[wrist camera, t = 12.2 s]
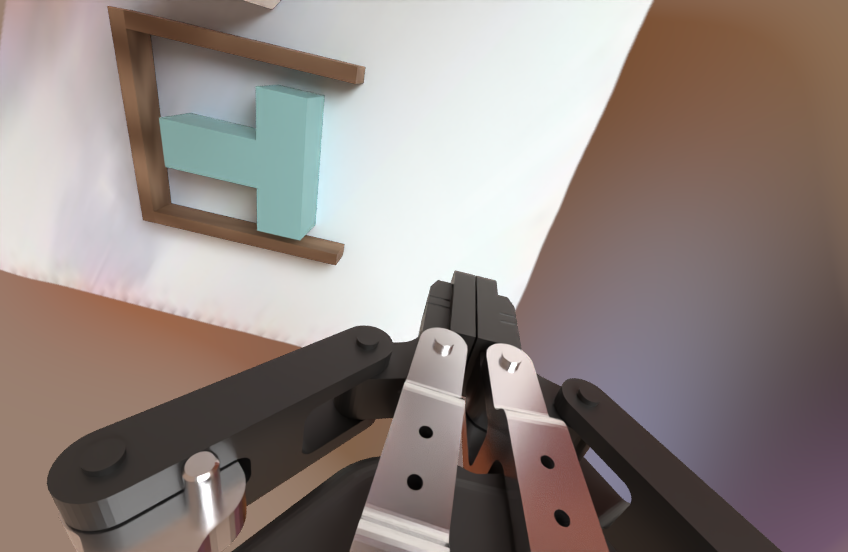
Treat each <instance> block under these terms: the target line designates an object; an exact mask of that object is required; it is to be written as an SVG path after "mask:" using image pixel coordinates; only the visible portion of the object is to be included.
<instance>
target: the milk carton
mask: <svg viewBox="0 0 848 552" xmlns="http://www.w3.org/2000/svg"><path fill="white" fill-rule="evenodd" d="M244 1H247V2H250V3H253V4H256V5H260V6H263V7H266V8H269V9H273V8H274V7H275V6H276V5H277V4H278V3H279V2H280V1H281V0H244Z"/></svg>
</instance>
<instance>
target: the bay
mask: <svg viewBox="0 0 848 552" xmlns="http://www.w3.org/2000/svg"><path fill="white" fill-rule="evenodd" d="M107 7H108V13H109V19H110V25H111V31H112V37H113V43H114V49H115V55H116V61H117V67H118V73H119V79H120V85H121V91H122V97H123V103H124V109H125V115H126V121H127V127H128V133H129V139H130V145H131V151H132V157H133V163H134V169H135V175H136V181H137V187H138V193H139V199H140V205H141V211H142V217H143V220H145V221H149V222H154V223H158V224H162V225H166V226H171V227H175V228H179V229H183V230H188V231H192V232H196V233H200V234H205V235H209V236H213V237H217V238H222V239H226V240H230V241H234V242H239V243H243V244H247V245H251V246H256V247H260V248H264V249H269V250H273V251H277V252H281V253H286V254H290V255H294V256H298V257H303V258H307V259H311V260H315V261H320V262H324V263H328V264H332V265H336V264H337V263H338V261H339V260H340V258H341V257H342V255H343V252H344V244H341V243H337V242H333V241H329V240H324V239H320V238H316V237H312V236H308V235H305V236H304V237H303V238H302V239H301V240H296V239H292V238H287V237H283V236H279V235H274V234H270V233H266V232H261V231H257V223H252V222H248V221H244V220H240V219H235V218H231V217H227V216H223V215H218V214H214V213H210V212H206V211H202V210H197V209H193V208H189V207H185V206H180V205H176V204H172V203H171V197H170V189H169V181H168V173H167V167H165V161H164V154H163V146H162V138H161V130H160V123H159V118H160V117H161V116H160V108H159V100H158V92H157V84H156V76H155V68H154V60H153V52H152V44H151V36H150V34H151V35H155V36H159V37H163V38H168V39H172V40H176V41H180V42H184V43H188V44H192V45H196V46H201V47H205V48H209V49H213V50H217V51H221V52H225V53H229V54H234V55H238V56H242V57H246V58H250V59H254V60H258V61H262V62H267V63H271V64H275V65H279V66H283V67H287V68H291V69H295V70H300V71H304V72H308V73H312V74H316V75H320V76H324V77H328V78H333V79H337V80H341V81H345V82H349V83H353V84H361V83H363V82H364V74H365V67H363V66H359V65H355V64H351V63H347V62H342V61H338V60H334V59H330V58H326V57H322V56H318V55H314V54H310V53H305V52H301V51H297V50H293V49H289V48H285V47H281V46H277V45H273V44H269V43H264V42H260V41H256V40H252V39H248V38H244V37H240V36H236V35H232V34H227V33H223V32H219V31H215V30H211V29H207V28H203V27H199V26H195V25H190V24H186V23H182V22H178V21H174V20H170V19H166V18H162V17H158V16H153V15H149V14H145V13H141V12H137V11H133V10H127V9H122V8H116V7H111V6H107Z"/></svg>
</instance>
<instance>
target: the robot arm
mask: <svg viewBox="0 0 848 552" xmlns="http://www.w3.org/2000/svg"><path fill="white" fill-rule="evenodd" d="M461 396H464V397H466V404H465V400H464V399H463V398H461ZM382 418H393V420H392V423H391V427H390V430H389V433H388V436H387V439H386V442H385V445H384V448H383V451H382V455H381V456H379V457H372V458H368V459H364V460H360V461H358V462H355V463H353V464H350V465H349V466H347V467H345V468H343V469H341V470H340V471H338V472H337V473H335V474H334V475H333V476H332V477H330V478H329V479H327V480H326V481H325V482H323V483H322V484H321V485H319V486H318V487H317V488H315V489H314V490H313V491H311V492H310V493H309V494H307V495H306V496H305V497H303V498H302V499H301V500H300V501H298V502H297V503H295V504H294V505H293V506H291V507H290V508H289V509H288V510H286V511H285V512H283V513H282V514H281V515H279V516H278V517H277V518H275V520H273V521H272V522H270V523H269V524H268V525H266V526H265V527H264V528H262V529H261V530H260V531H258V532H257V533H256V534H254V535H253V536H252V537H250V538H249V539H248V540H246V541H245V542H244V543H242V544H241V545H240V546H238V547H237V548H236V549H234V550H233V551H232V552H782V551H781V550H780V549H779V548H777V547H776V546H775V545H774V544H773V543H772V542H771V541H770V540H769V539H767V538H766V537H765V536H764V535H763V534H762V533H761V532H759V530H757V529H756V528H755V527H754V526H753V525H752V524H751V523H749V522H748V521H747V520H746V519H745V518H744V517H743V516H742V515H741V514H740V513H738V512H737V511H736V510H735V509H734V508H733V507H732V506H731V505H729V504H728V503H727V502H726V501H725V500H724V499H723V498H722V497H721V496H719V495H718V494H717V493H716V492H715V491H714V490H713V489H711V488H710V487H709V486H708V485H707V484H706V483H705V482H704V481H703V480H702V479H700V478H699V477H698V476H697V475H696V474H695V473H694V472H692V471H691V470H690V469H689V468H688V467H687V466H686V465H685V464H683V462H681V461H680V460H679V459H678V458H677V457H676V456H675V455H673V454H672V453H671V452H670V451H669V450H668V449H667V448H666V447H664V446H663V445H662V444H661V443H660V442H659V441H658V440H657V439H656V438H654V437H653V436H652V435H651V434H650V433H649V432H648V431H646V429H644V428H643V427H642V426H641V425H640V424H639V423H638V422H637V421H636V420H634V419H633V418H632V417H631V416H630V415H629V414H627V412H625V411H624V410H623V409H622V408H621V407H620V406H619V405H618V404H616V403H615V402H614V401H613V400H612V399H611V398H610V397H609V396H608V395H606V394H605V393H604V392H603V391H602V390H601V389H599V388H598V387H597V386H595V385H593V384H592V383H590V382H587V381H585V380H582V379H576V378H574V379H573V378H572V379H568V380H566V381H565V382H564V383H563V384H562V386H559V385H557V384H555V383H553V382H551V381H549V380H547V379H545V378H542V377H541V376H539V375H538V374H536V371H535V369H534V365H533V362H532V361H531V359H530V358H529V356H528V355H527V354H526V353H524V352H523V351H522V350H521V344H520V338H519V332H518V326H517V320H516V314H515V308H514V306H513V305H512V303H511V302H510V300H509V299H508V298H507V297H504V296H500V295H498V292H497V282H496V280H492V279H488V278H484V277H480V276H475V275H471V274H467V273H463V272H459V271H455V272H454V274H453V277H452V280H451V283H448V282H444V281H440V280H438V281H436V282H435V283H434V284H433V285H432V286H431V287H430V291H429V295H428V298H427V302H426V306H425V309H424V313H423V317H422V321H421V326H420V331H419V336H418V337H417V338H416V339H414V340H412V341H409V342H401V343H393V342H392V340H391V338H390V336H389V335H388V334H387V333H385V332H384V331H382V330H381V329H378V328H376V327H372V326H356V327H353V328H350V329H348V330H345V331H343V332H340V333H338V334H335V335H333V336H330V337H328V338H325V339H323V340H320V341H318V342H315V343H313V344H310V345H308V346H305V347H303V348H300V349H298V350H295V351H293V352H290V353H288V354H285V355H283V356H280V357H278V358H276V359H273V360H270V361H268V362H266V363H263V364H261V365H258V366H256V367H253V368H251V369H248V370H246V371H243V372H241V373H238V374H236V375H233V376H231V377H228V378H226V379H223V380H221V381H218V382H216V383H213V384H211V385H208V386H206V387H203V388H201V389H198V390H196V391H193V392H191V393H189V394H186V395H183V396H181V397H178V398H176V399H173V400H171V401H169V402H166V403H164V404H161V405H159V406H156V407H154V408H151V409H149V410H146V411H144V412H141V413H139V414H136V415H134V416H131V417H129V418H126V419H124V420H121V421H119V422H116V423H114V424H112V425H109V426H106V427H104V428H102V429H99V430H96V431H94V432H92V433H90V434H88V435H86V436H84V437H82V438H80V439H79V440H77V441H76V442H74V443H73V444H71V445H70V446H69V447H68V448H67V449H65V450H64V451H63V452H62V453H61V454H60V456H58V458H57V459H56V460H55V462H54V463H53V465H52V467H51V469H50V471H49V474H48V477H47V485H48V490H49V491H50V494H51V495H52V498H53V500H54V501H55V503H56V505H57V507H58V509H59V517H60V521H61V523H62V525H63V526H64V529H65V530H66V533H67V534H68V536H69V538H70V540H71V542H72V544H73V546H74V548H75V550H76V552H222V551H224V550H225V549H226V548H227V547H228V546H229V545H230V544H231V543H232V542H233V541H234V540H235V539H236V538H237V536H238V535H239V533H240V532H241V530H242V528H243V526H244V523H245V519H246V514H247V506H248V505H249V504H251V503H253V502H254V501H256V500H257V499H259V498H260V497H262V496H263V495H265V494H266V493H268V492H270V491H271V490H273V489H274V488H276V487H277V486H279V485H280V484H282V483H283V482H285V481H287V480H288V479H290V478H291V477H293V476H294V475H296V474H297V473H299V472H300V471H302V470H303V469H305V468H306V467H308V466H310V465H311V464H313V463H314V462H316V461H317V460H319V459H320V458H322V457H323V456H325V455H327V454H328V453H329V452H331V451H333V450H334V449H336V448H337V447H339V446H341V445H342V444H344V443H345V442H347V441H348V440H350V439H351V438H353V437H354V436H356V435H357V434H359V433H361V432H362V431H364V430H365V429H367V428H368V427H369V426H371V425H372V424H373V423H374V421H375V420H376V419H382ZM461 436H462V455H463V468H462V467H460V466H458V465H457V463H458V456H459V448H460V439H461ZM590 447H591V448H592V449H593V450H594V451H595V453H596V454H597V455H598V456H599V457H600V458H601V459H602V460H603V461H604V462H605V463H606V464H607V465H608V466H609V467H610V468H611V469H612V470H613V471H614V472H615V473H616V474H617V475H618V477H619V478H620V479H621V480H622V481H623V482H624V483H625V484H626V485H627V487H628V489H629V491H630V493H631V498H632V500H631V504H630V503H628V502H626V501H625V500H623V499H622V498H621V497H620V496H619V495H618V494H617V492H616V491H615V490H614V489H613V488H612V487H611V486H610V485H609V484H608V483H607V482H606V481H605V479H604V478H603V477H602V476H601V475H600V474H599V473H598V472H597V471H596V470H595V469H594V468H593V466H592V465H591V464H590V463H589V462H588V461H587V460H586V459H585V458H584V455H585V454H586V452H587V451H588V450H589V448H590Z"/></svg>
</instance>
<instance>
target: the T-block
mask: <svg viewBox="0 0 848 552" xmlns="http://www.w3.org/2000/svg"><path fill="white" fill-rule="evenodd" d="M323 109H324V96H323V95H319V94H315V93H311V92H306V91H302V90H298V89H294V88H290V87H285V86H281V85H268V86H256V128H252V127H248V126H244V125H239V124H235V123H231V122H227V121H222V120H218V119H214V118H210V117H205V116H201V115H197V114H193V113H187V114H180V115H174V116H167V117H160V118H159V123H160V130H161V138H162V146H163V154H164V161H165V167H168V168H172V169H176V170H181V171H185V172H189V173H194V174H198V175H202V176H207V177H211V178H215V179H219V180H224V181H228V182H232V183H237V184H241V185H245V186H249V187H254V188H257V231H261V232H266V233H270V234H274V235H279V236H283V237H287V238H292V239H296V240H301V239H302V238H303V237H304V236H305V235H306V234H307V233H308V232H309V231H310V230H311V229H312V228H313V227H314V226H315V224H316V210H317V195H318V181H319V167H320V152H321V138H322V124H323Z"/></svg>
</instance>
